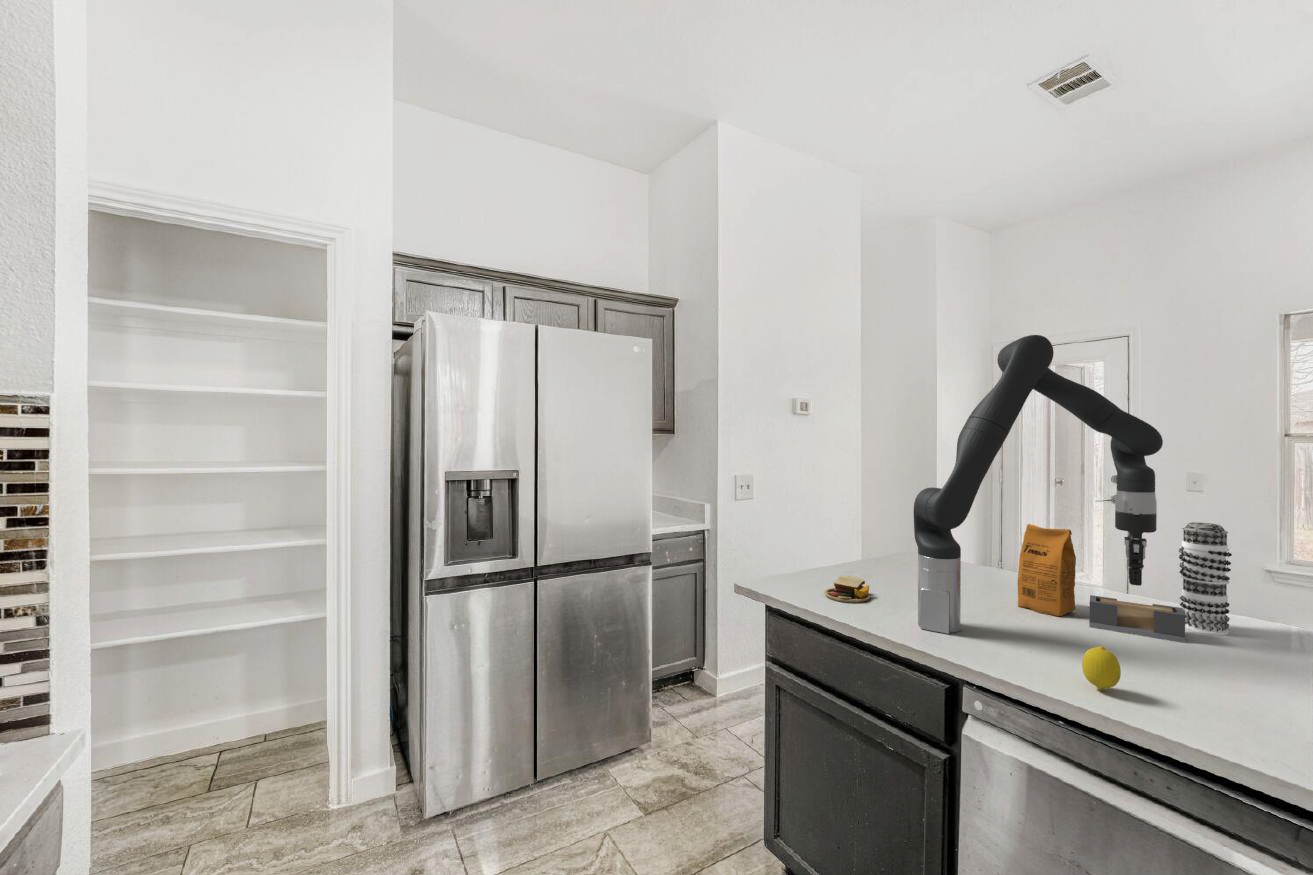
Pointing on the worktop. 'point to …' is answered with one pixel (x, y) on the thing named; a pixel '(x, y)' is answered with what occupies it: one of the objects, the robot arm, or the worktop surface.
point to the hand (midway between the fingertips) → (1135, 582)
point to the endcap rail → (1164, 627)
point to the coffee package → (1047, 571)
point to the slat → (1135, 613)
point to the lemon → (1101, 668)
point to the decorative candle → (1205, 578)
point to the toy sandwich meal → (848, 590)
